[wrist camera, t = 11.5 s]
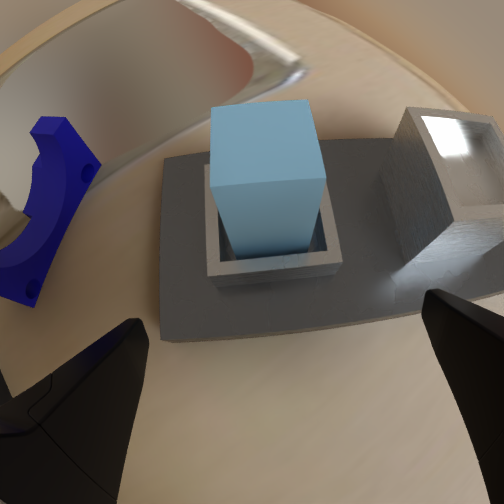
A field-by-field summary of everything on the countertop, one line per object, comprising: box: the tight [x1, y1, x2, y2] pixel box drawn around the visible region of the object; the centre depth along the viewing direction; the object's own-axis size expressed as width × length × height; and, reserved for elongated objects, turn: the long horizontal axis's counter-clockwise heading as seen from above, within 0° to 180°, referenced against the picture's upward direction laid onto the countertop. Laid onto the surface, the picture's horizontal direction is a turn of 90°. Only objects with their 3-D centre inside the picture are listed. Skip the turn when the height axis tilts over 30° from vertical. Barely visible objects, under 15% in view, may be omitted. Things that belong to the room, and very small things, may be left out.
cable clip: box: [0, 116, 101, 308], centre depth 18 cm, size 12×4×6 cm, turn 161°
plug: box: [210, 100, 326, 260], centre depth 13 cm, size 4×4×7 cm
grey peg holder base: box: [159, 107, 504, 343], centre depth 15 cm, size 22×11×8 cm, turn 95°
